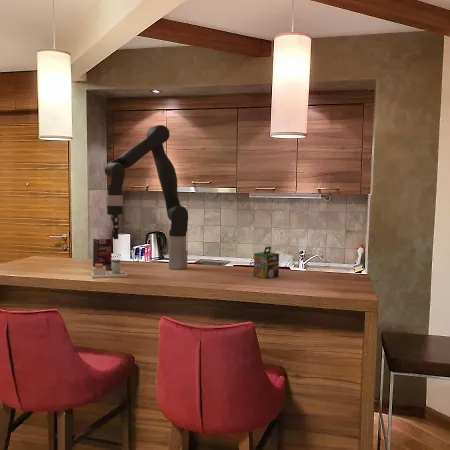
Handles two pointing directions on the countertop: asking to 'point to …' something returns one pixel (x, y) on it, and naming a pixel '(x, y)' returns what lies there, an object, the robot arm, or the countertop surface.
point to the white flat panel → (110, 275)
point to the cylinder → (116, 266)
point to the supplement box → (102, 252)
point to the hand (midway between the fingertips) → (115, 238)
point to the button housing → (99, 271)
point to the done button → (98, 265)
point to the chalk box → (266, 264)
